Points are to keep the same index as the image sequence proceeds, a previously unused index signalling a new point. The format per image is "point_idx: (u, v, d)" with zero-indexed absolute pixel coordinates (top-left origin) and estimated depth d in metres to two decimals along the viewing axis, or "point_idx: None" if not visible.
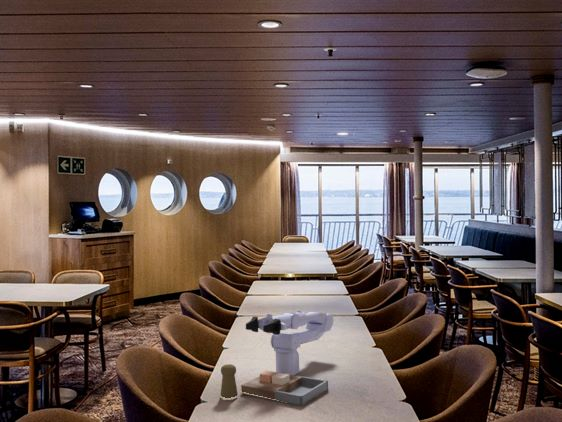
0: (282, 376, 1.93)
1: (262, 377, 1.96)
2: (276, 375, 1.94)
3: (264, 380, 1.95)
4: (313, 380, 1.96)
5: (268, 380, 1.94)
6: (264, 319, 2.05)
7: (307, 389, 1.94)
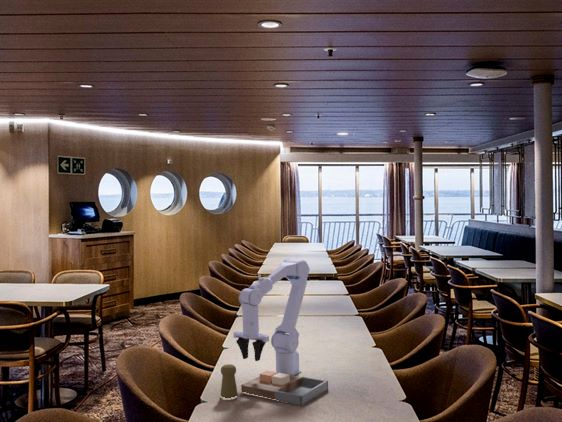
0: (282, 376, 1.93)
1: (262, 377, 1.96)
2: (276, 375, 1.94)
3: (264, 380, 1.95)
4: (313, 380, 1.96)
5: (268, 380, 1.94)
6: None
7: (307, 389, 1.94)
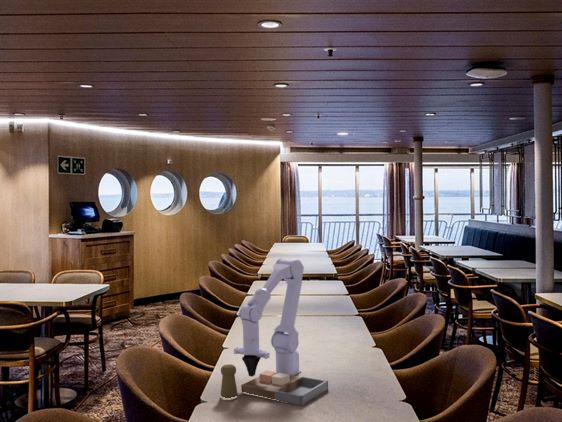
0: (282, 376, 1.93)
1: (262, 377, 1.96)
2: (276, 375, 1.94)
3: (264, 380, 1.95)
4: (313, 380, 1.96)
5: (268, 380, 1.94)
6: None
7: (307, 389, 1.94)
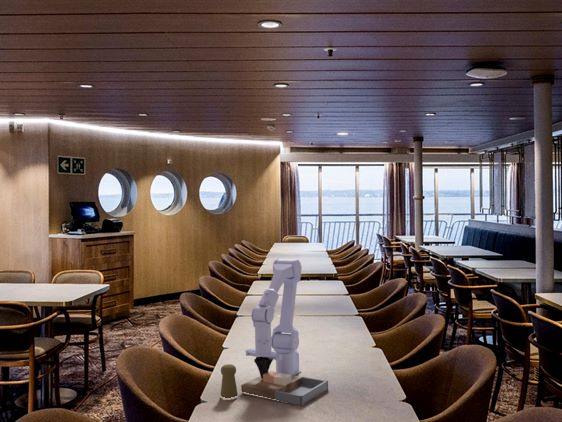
0: (284, 376, 1.92)
1: (265, 377, 1.95)
2: (278, 375, 1.93)
3: (268, 381, 1.94)
4: (313, 380, 1.96)
5: (272, 381, 1.93)
6: None
7: (307, 389, 1.94)
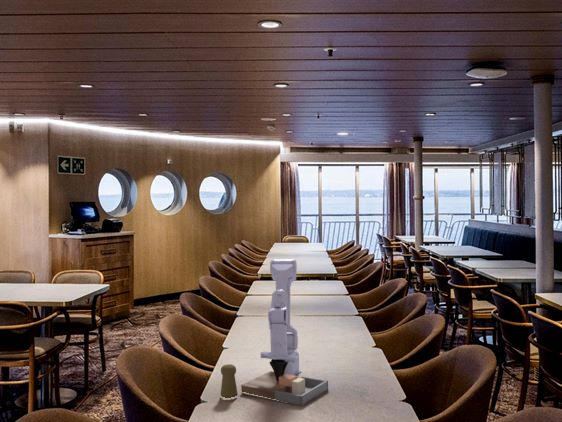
0: (300, 391, 1.89)
1: (281, 380, 1.91)
2: (300, 384, 1.89)
3: (284, 384, 1.91)
4: (313, 380, 1.96)
5: (288, 384, 1.90)
6: None
7: (307, 389, 1.94)
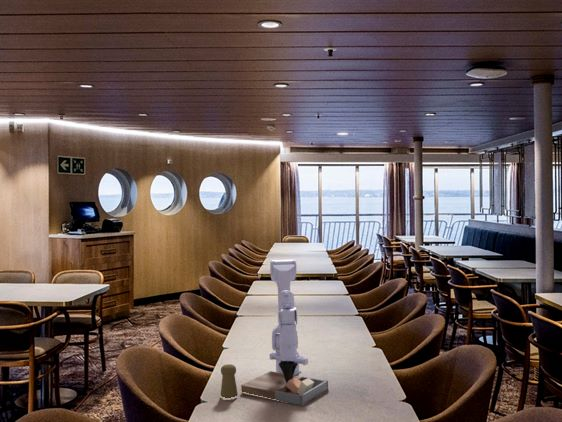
0: None
1: (289, 384, 1.89)
2: (308, 387, 1.86)
3: (291, 388, 1.89)
4: (313, 380, 1.96)
5: (295, 391, 1.88)
6: None
7: None
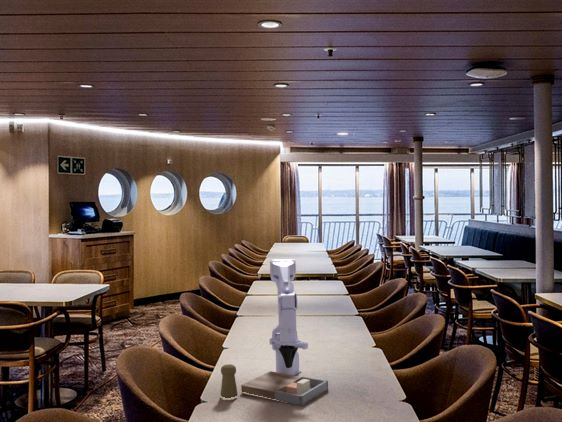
0: None
1: (288, 389, 1.89)
2: (305, 385, 1.87)
3: (290, 392, 1.89)
4: (313, 380, 1.96)
5: (295, 393, 1.88)
6: None
7: None
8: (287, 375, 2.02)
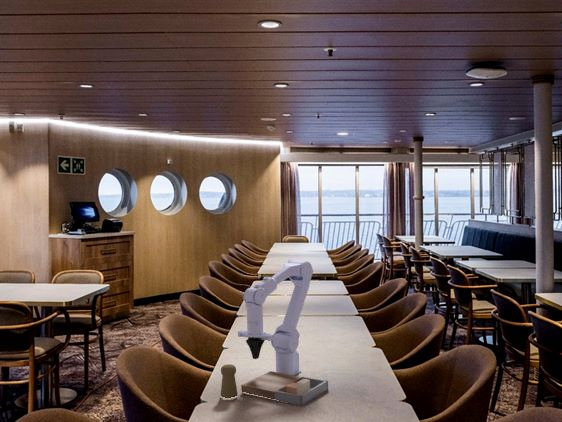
0: None
1: (288, 389, 1.89)
2: (305, 385, 1.87)
3: (290, 392, 1.89)
4: (313, 380, 1.96)
5: (295, 393, 1.88)
6: None
7: None
8: (287, 375, 2.02)
